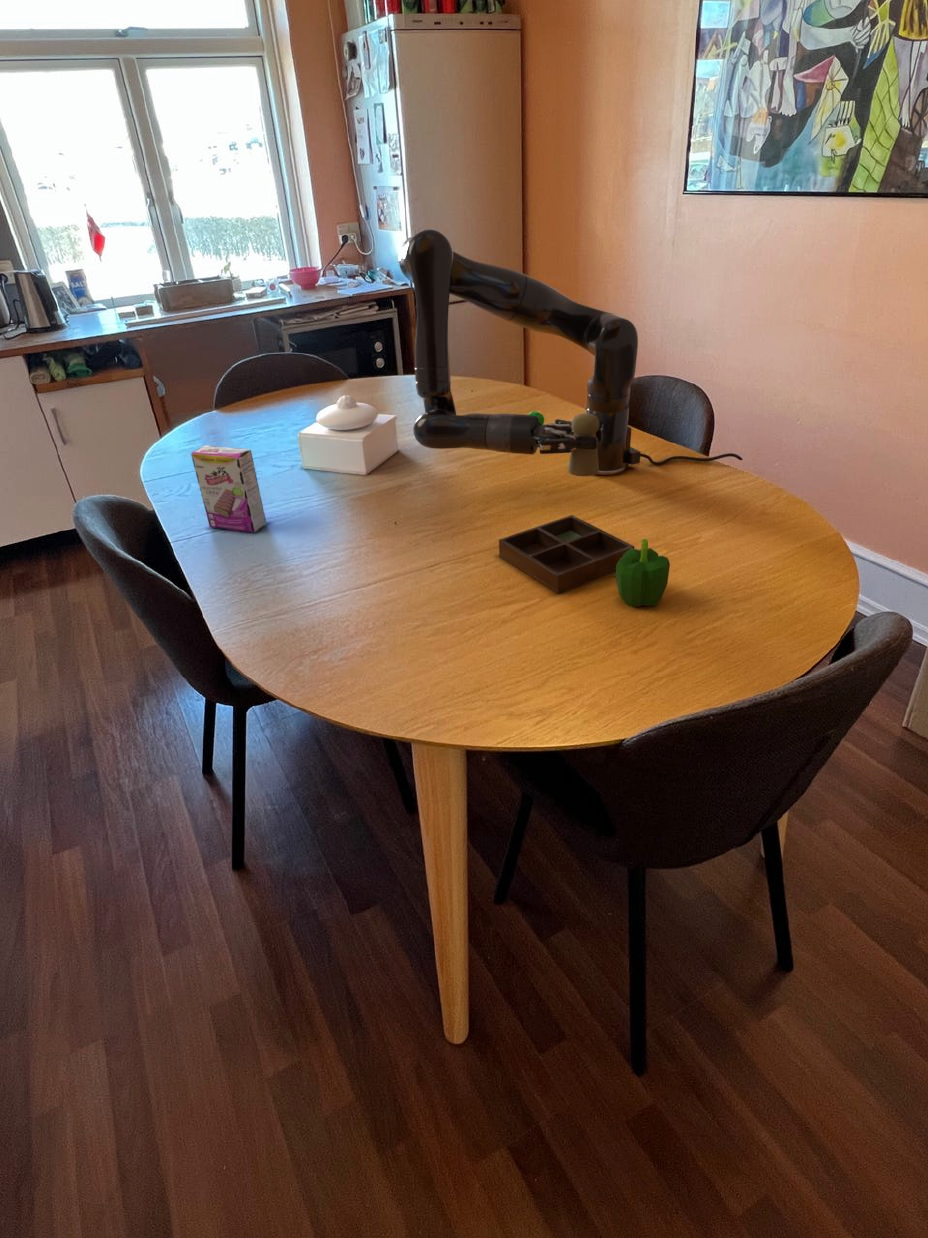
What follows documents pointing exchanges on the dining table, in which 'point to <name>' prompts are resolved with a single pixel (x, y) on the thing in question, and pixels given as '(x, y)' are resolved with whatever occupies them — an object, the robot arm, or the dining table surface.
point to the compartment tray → (563, 552)
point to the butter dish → (348, 438)
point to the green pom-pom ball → (540, 416)
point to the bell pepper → (642, 576)
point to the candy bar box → (229, 488)
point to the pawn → (584, 459)
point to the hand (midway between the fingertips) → (599, 439)
